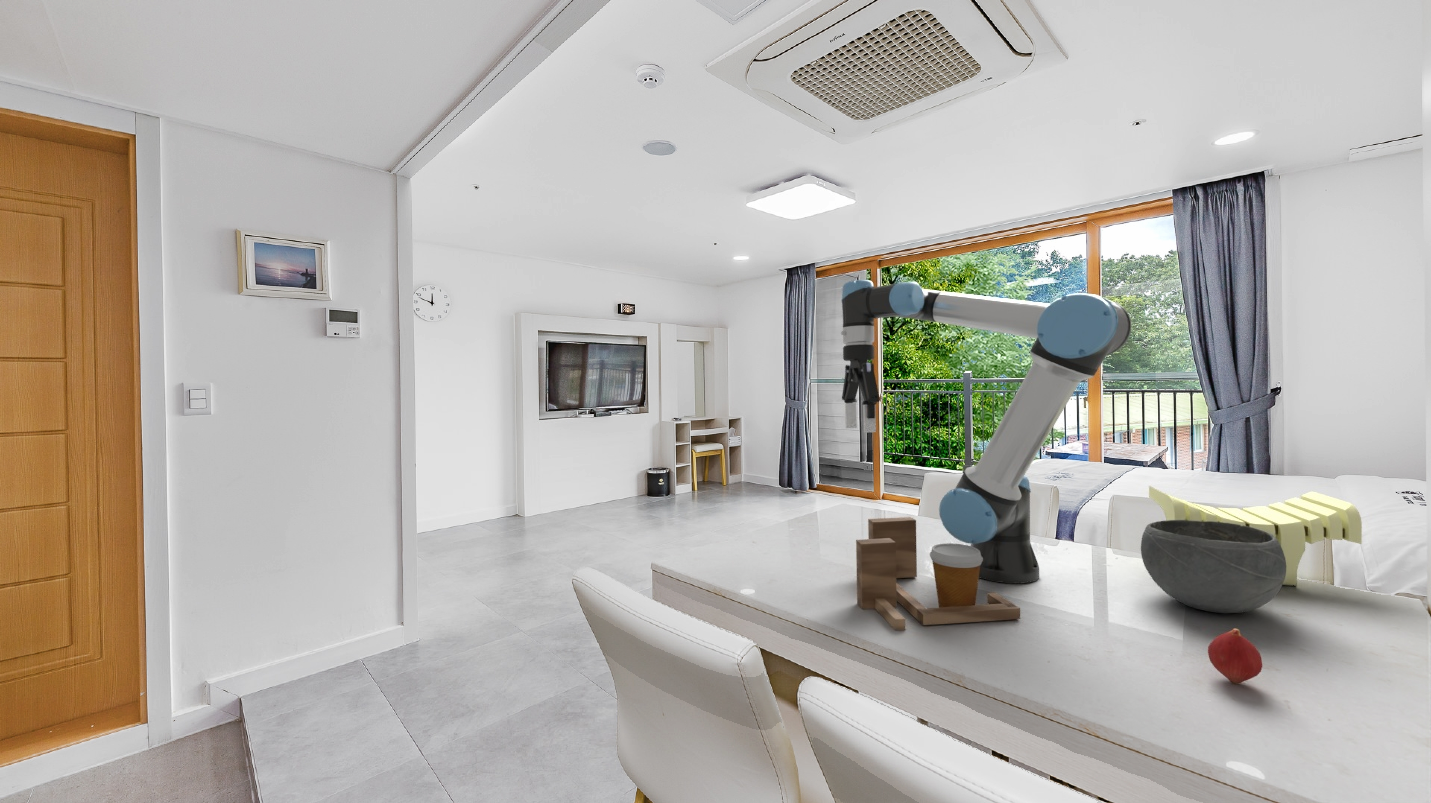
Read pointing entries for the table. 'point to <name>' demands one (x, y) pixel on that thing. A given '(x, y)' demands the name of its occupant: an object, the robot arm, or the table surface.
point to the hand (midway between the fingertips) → (860, 430)
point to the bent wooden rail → (906, 567)
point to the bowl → (1214, 564)
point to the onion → (1235, 656)
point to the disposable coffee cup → (956, 573)
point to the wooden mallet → (878, 579)
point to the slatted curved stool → (1278, 521)
